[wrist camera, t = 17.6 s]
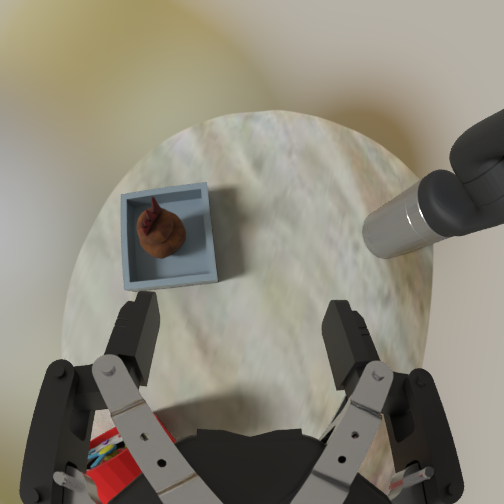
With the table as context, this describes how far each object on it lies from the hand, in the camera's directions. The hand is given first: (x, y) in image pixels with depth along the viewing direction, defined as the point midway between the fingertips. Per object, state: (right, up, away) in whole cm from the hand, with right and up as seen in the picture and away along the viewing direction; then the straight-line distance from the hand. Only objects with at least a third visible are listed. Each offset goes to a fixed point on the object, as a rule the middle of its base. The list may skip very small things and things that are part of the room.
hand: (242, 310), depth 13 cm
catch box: (-13, +4, +33) cm, 36 cm away
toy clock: (-20, -29, +26) cm, 44 cm away
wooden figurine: (-13, +4, +32) cm, 35 cm away
